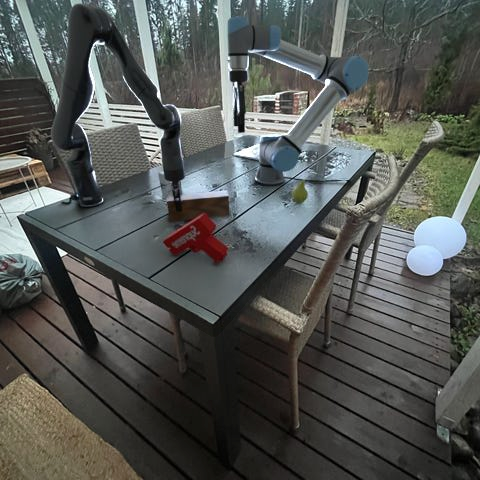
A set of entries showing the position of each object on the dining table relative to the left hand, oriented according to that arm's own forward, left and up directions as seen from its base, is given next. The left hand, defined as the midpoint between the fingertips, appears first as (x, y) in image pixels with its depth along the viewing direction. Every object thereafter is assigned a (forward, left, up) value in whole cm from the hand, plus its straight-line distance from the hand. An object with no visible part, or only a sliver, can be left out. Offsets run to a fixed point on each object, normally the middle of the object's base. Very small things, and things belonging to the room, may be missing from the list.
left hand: (179, 207), depth 108 cm
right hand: (+15, +30, +25) cm, 42 cm away
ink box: (-14, +18, -4) cm, 23 cm away
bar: (+7, +4, -4) cm, 9 cm away
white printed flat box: (+12, +99, -4) cm, 100 cm away
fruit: (+44, +29, -4) cm, 53 cm away
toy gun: (+18, -22, -4) cm, 29 cm away
